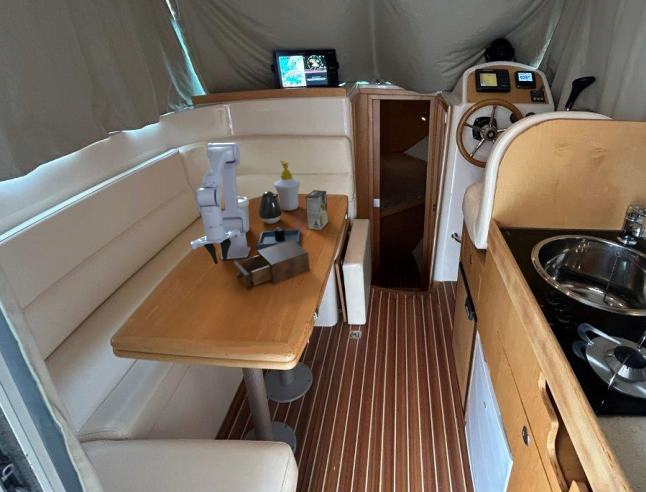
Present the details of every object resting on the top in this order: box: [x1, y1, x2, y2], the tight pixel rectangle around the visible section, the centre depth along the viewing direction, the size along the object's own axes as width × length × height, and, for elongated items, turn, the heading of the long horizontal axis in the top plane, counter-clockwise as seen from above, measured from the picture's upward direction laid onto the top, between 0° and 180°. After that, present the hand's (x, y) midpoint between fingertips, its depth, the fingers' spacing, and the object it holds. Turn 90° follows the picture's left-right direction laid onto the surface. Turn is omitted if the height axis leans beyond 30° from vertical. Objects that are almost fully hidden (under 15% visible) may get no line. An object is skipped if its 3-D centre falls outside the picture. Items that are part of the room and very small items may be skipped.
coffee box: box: [305, 189, 329, 231], centre depth 166 cm, size 9×6×16 cm
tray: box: [257, 228, 301, 250], centre depth 153 cm, size 16×12×2 cm
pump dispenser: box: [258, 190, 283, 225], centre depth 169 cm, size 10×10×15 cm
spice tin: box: [273, 226, 285, 242], centre depth 153 cm, size 4×4×5 cm
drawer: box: [233, 254, 273, 291], centre depth 125 cm, size 14×11×6 cm
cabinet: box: [257, 240, 310, 285], centre depth 131 cm, size 14×13×8 cm
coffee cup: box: [229, 195, 250, 233], centre depth 159 cm, size 10×10×15 cm
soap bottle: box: [273, 160, 301, 212], centre depth 183 cm, size 13×13×25 cm
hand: (220, 261), depth 119 cm, fingers closed
